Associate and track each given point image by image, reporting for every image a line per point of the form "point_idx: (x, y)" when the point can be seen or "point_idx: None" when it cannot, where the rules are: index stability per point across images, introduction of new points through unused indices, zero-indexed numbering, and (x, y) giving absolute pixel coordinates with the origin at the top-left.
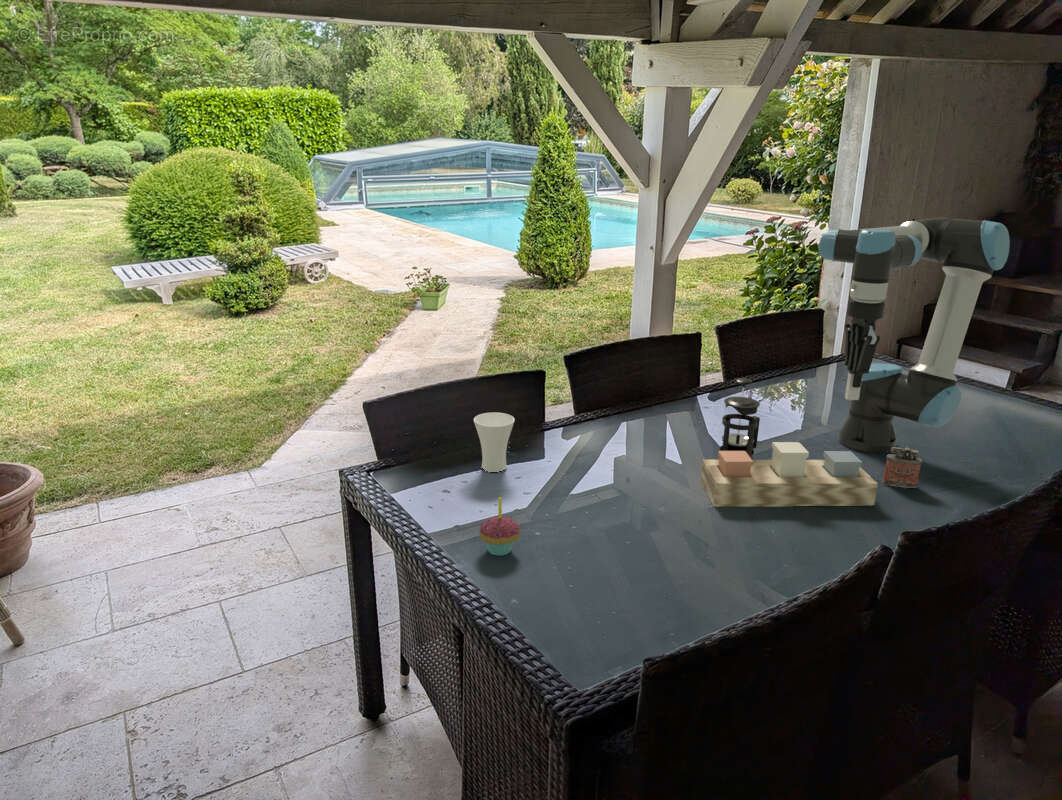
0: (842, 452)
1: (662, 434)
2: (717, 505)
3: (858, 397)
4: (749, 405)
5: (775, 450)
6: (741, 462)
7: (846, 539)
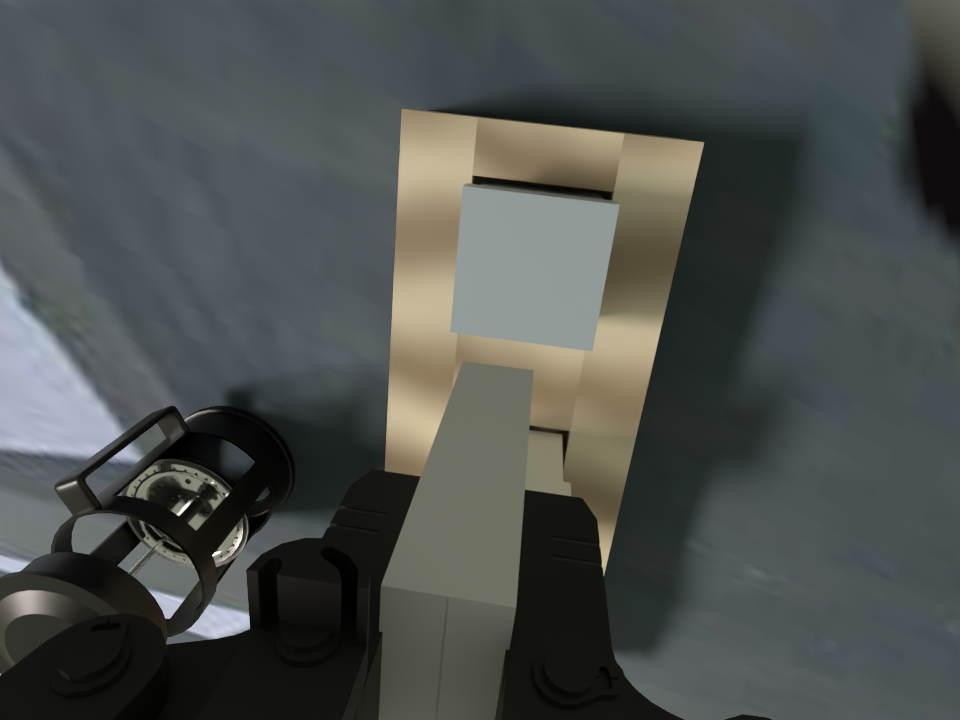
0: (477, 243)
1: None
2: None
3: (529, 386)
4: None
5: None
6: None
7: (885, 392)
